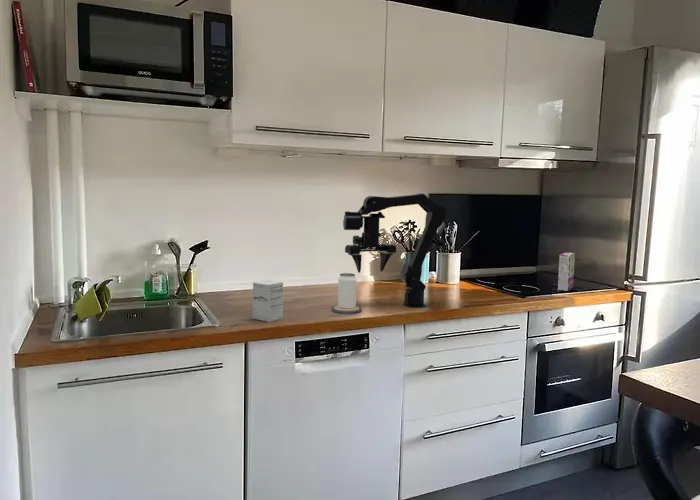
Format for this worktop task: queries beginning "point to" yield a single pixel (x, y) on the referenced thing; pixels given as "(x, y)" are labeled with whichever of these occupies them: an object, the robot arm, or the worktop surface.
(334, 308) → the trivet
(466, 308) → the worktop surface
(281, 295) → the supplement box
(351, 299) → the can
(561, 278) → the candy bar box
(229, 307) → the worktop surface
